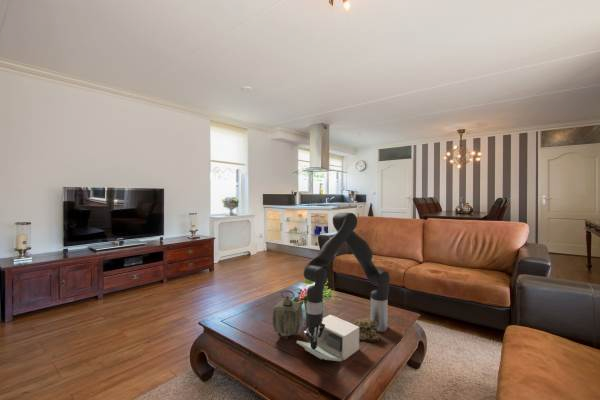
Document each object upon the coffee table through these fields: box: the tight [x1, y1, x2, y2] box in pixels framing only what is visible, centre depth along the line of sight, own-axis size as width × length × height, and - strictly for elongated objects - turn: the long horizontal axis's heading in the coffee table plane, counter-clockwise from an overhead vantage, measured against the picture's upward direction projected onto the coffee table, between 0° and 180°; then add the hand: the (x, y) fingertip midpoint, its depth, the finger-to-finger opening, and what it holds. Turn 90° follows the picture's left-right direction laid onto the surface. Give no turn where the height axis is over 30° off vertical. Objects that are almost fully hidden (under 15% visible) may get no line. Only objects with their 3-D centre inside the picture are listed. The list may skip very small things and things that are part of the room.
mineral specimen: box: [352, 317, 380, 343], centre depth 145 cm, size 14×13×10 cm
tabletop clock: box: [272, 290, 304, 340], centre depth 144 cm, size 14×9×25 cm, turn 77°
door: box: [296, 340, 343, 362], centre depth 126 cm, size 2×17×14 cm
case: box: [317, 314, 360, 361], centre depth 135 cm, size 12×18×12 cm, turn 44°
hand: (313, 348), depth 123 cm, fingers closed
